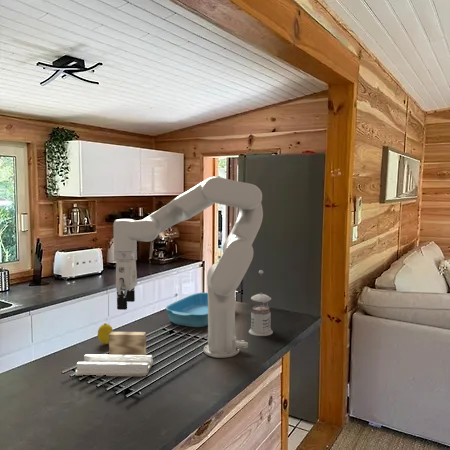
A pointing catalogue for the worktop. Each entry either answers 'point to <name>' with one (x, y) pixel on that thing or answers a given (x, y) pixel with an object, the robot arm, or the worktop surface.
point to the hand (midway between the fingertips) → (126, 305)
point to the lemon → (104, 333)
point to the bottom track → (114, 365)
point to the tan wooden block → (127, 343)
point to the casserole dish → (190, 311)
